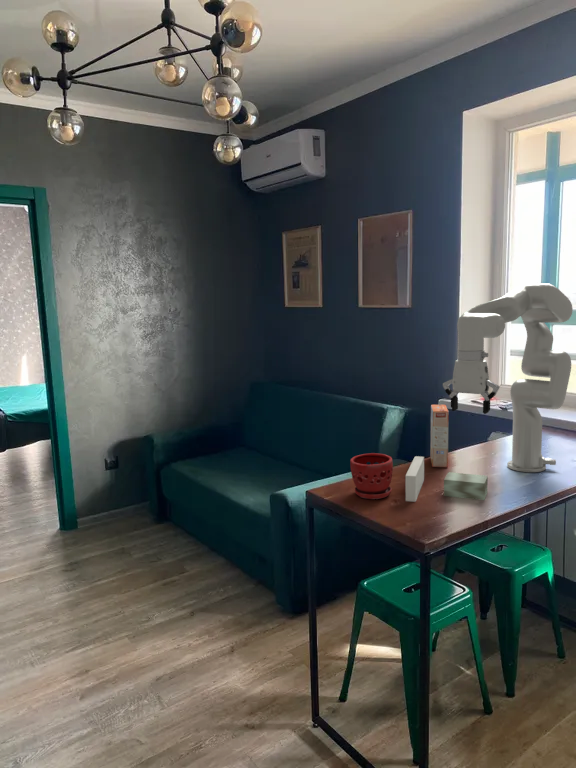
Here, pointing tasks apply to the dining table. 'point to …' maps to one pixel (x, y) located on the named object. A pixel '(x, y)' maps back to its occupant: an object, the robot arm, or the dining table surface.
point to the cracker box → (439, 435)
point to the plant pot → (372, 475)
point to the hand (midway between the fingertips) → (470, 411)
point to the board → (414, 478)
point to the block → (465, 485)
